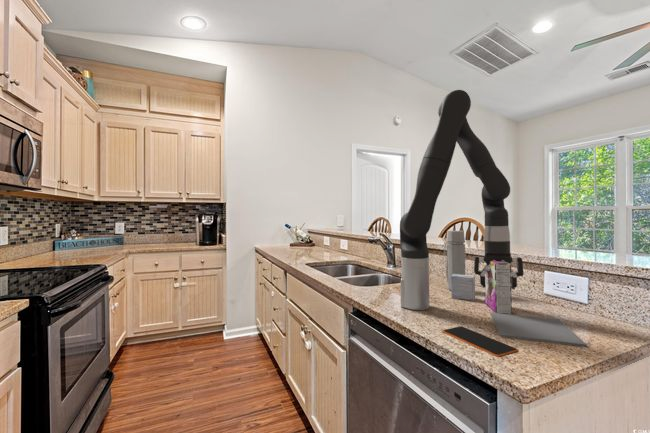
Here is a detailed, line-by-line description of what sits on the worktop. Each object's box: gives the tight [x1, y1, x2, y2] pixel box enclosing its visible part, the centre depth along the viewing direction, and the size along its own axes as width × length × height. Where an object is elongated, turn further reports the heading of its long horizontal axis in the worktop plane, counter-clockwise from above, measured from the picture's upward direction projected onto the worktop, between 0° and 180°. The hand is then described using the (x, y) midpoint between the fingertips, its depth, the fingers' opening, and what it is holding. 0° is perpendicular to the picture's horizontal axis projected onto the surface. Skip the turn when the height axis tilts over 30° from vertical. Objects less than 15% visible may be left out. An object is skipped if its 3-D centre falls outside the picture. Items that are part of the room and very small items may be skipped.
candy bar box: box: [484, 261, 513, 315], centre depth 102 cm, size 11×5×16 cm, turn 168°
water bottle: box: [441, 230, 466, 291], centre depth 129 cm, size 9×8×25 cm
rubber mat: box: [490, 312, 588, 348], centre depth 84 cm, size 18×19×1 cm
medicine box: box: [450, 274, 476, 301], centre depth 116 cm, size 8×4×9 cm, turn 58°
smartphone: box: [441, 325, 519, 358], centre depth 77 cm, size 8×17×1 cm, turn 24°
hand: (498, 287), depth 102 cm, fingers open, 8 cm apart
